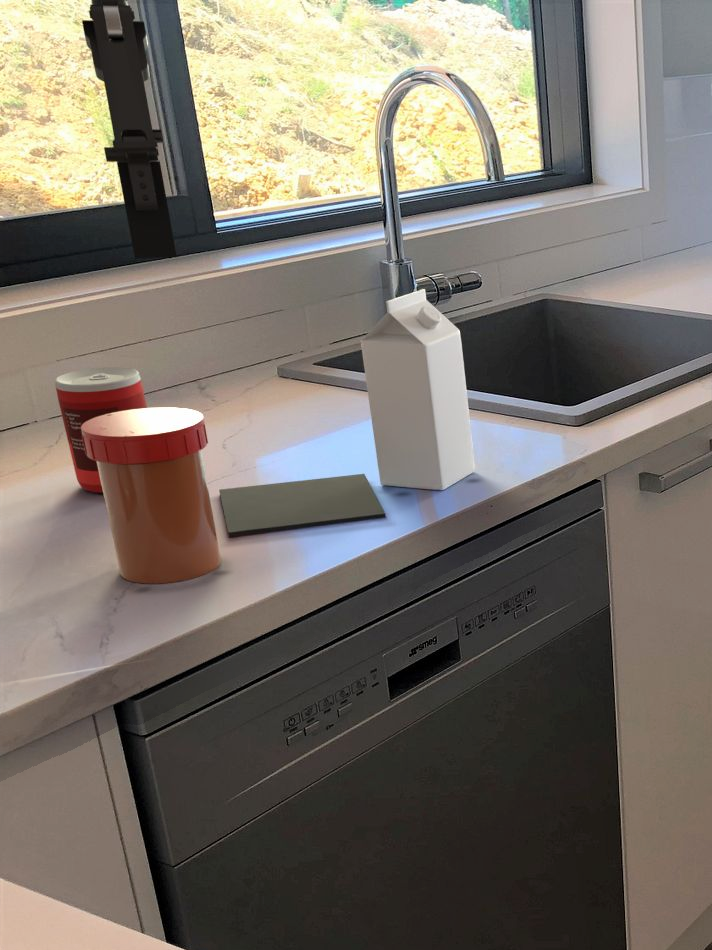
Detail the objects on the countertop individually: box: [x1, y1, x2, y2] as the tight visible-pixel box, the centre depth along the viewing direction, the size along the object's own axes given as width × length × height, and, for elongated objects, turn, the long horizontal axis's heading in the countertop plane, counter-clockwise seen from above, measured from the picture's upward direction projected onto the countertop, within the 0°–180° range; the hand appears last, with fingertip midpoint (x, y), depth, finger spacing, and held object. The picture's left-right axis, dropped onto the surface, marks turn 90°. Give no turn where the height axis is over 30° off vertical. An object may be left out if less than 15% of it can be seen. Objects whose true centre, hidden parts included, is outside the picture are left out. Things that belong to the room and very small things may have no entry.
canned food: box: [54, 366, 148, 494], centre depth 140 cm, size 8×8×11 cm
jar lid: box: [81, 407, 209, 464], centre depth 116 cm, size 9×9×2 cm
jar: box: [97, 450, 222, 585], centre depth 119 cm, size 8×8×12 cm
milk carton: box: [360, 288, 476, 491], centre depth 141 cm, size 7×7×19 cm
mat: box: [218, 473, 387, 538], centre depth 137 cm, size 14×14×1 cm
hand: (154, 244), depth 105 cm, fingers open, 13 cm apart
